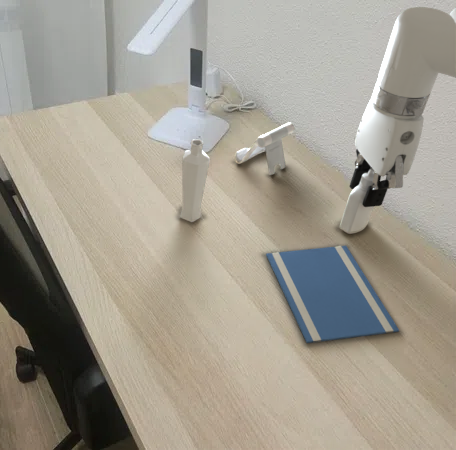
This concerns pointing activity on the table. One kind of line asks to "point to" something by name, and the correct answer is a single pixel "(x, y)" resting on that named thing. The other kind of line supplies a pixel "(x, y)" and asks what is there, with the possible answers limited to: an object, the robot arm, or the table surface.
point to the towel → (330, 294)
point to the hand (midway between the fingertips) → (365, 195)
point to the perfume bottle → (193, 180)
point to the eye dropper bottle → (357, 206)
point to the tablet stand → (268, 147)
